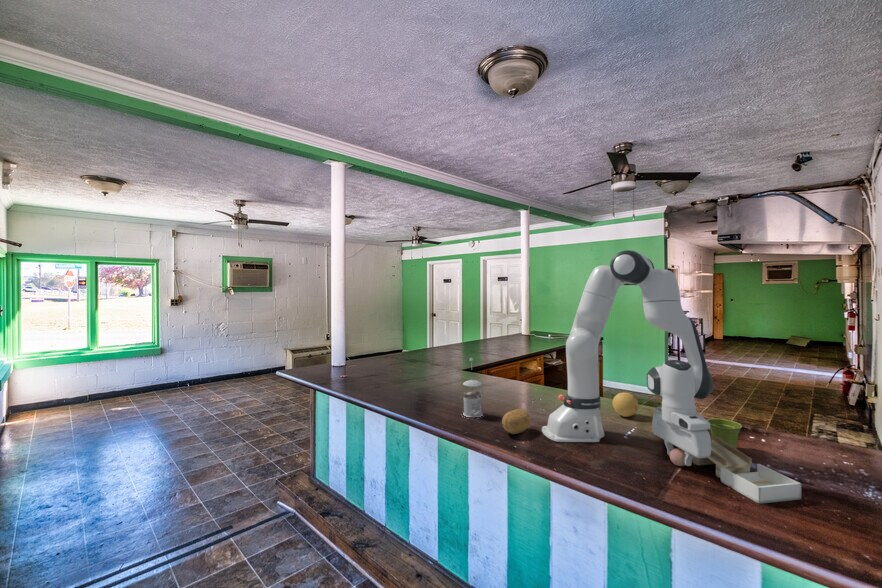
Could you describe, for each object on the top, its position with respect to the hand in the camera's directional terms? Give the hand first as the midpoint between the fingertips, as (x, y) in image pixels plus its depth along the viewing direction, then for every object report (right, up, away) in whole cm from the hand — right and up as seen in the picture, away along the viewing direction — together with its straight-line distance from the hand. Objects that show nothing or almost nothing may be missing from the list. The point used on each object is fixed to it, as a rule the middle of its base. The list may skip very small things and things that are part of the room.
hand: (679, 460), depth 118 cm
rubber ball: (0, -2, 0) cm, 2 cm away
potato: (-44, -3, +30) cm, 53 cm away
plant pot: (+22, -1, +11) cm, 24 cm away
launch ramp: (+10, -1, -3) cm, 11 cm away
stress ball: (+5, -1, +45) cm, 45 cm away
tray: (+12, -2, -15) cm, 19 cm away
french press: (-58, -3, +52) cm, 78 cm away
